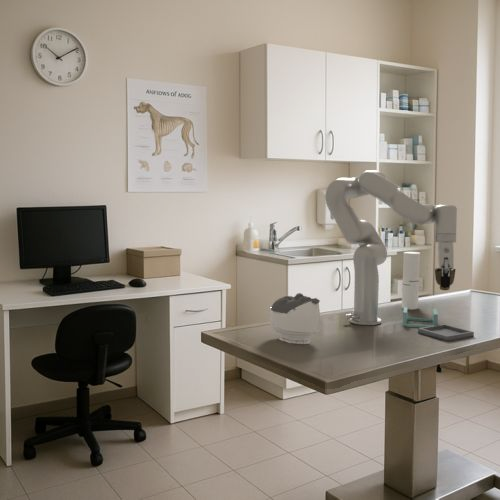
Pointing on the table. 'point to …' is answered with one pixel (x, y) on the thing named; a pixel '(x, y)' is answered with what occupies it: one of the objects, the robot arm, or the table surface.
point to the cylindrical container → (410, 280)
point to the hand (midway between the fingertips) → (444, 285)
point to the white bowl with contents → (295, 318)
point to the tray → (445, 332)
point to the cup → (439, 273)
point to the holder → (419, 319)
